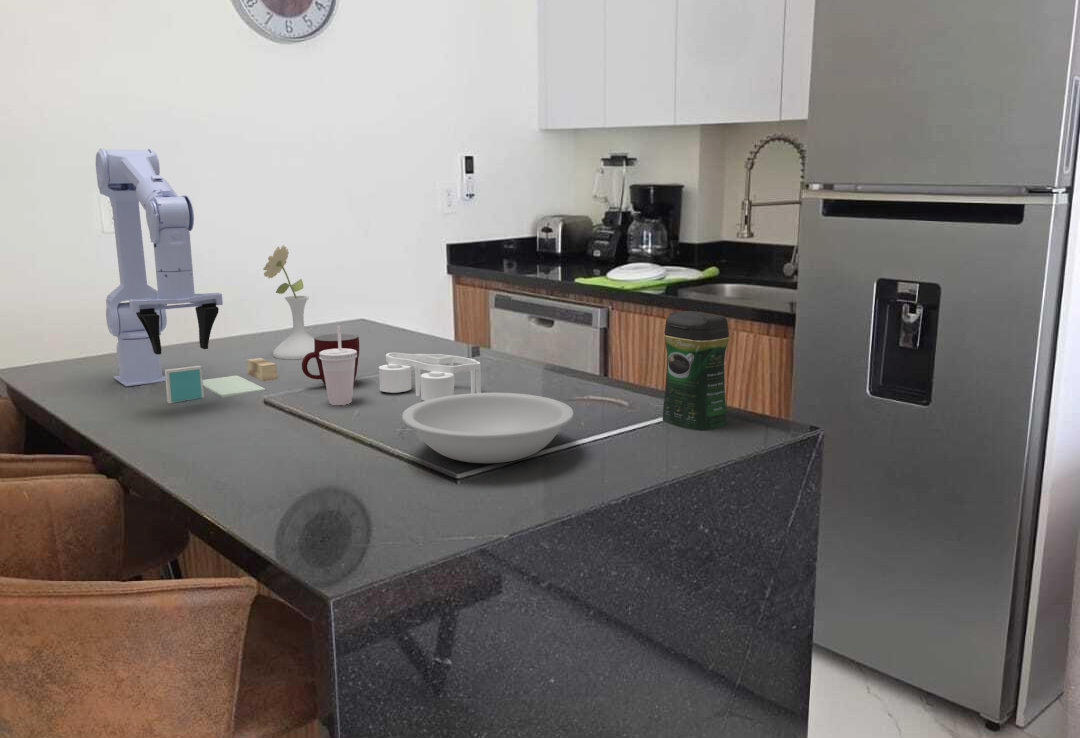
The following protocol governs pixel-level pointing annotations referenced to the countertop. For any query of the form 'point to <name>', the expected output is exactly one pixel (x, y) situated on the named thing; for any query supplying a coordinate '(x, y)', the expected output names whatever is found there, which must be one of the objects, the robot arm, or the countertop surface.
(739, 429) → the countertop surface
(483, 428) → the soup bowl
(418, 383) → the white rack with cylinders
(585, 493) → the countertop surface
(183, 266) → the robot arm
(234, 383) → the mat
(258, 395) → the countertop surface
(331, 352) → the smoothie
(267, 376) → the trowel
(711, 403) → the coffee jar
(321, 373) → the mug
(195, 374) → the tile
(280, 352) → the flower in vase
